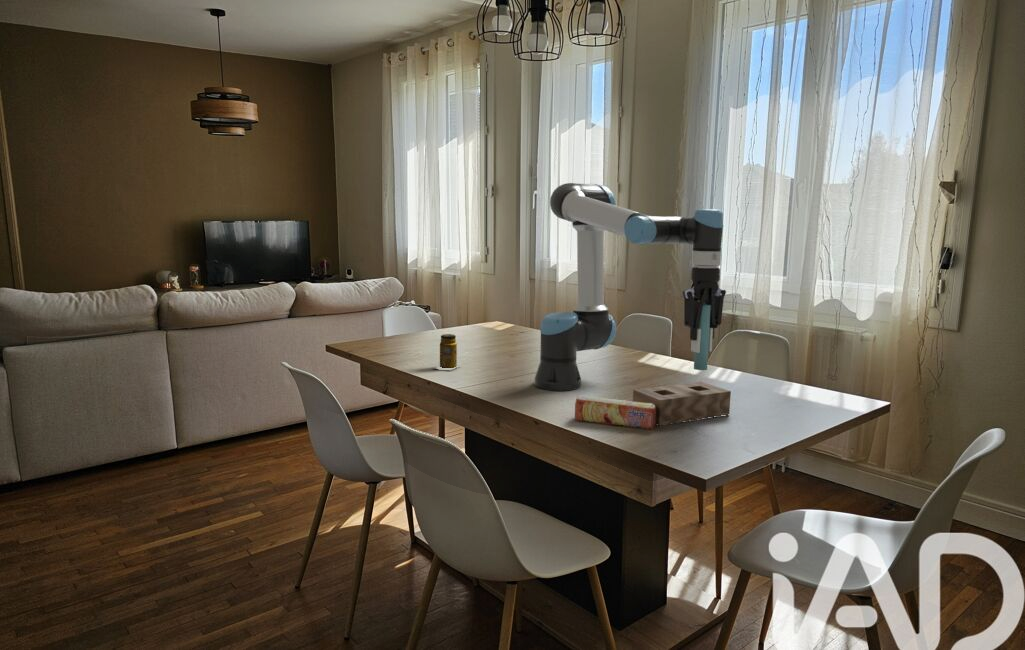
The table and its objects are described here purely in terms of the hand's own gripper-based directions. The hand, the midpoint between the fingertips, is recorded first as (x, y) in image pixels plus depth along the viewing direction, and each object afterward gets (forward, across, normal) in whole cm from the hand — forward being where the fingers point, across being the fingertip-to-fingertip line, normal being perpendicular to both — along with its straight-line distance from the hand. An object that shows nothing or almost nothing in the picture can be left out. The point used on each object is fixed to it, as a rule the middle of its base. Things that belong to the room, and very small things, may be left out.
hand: (701, 351), depth 189 cm
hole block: (+18, -6, 0) cm, 19 cm away
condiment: (+18, -45, +81) cm, 94 cm away
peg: (+5, 0, 0) cm, 5 cm away
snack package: (+18, -27, +1) cm, 33 cm away
